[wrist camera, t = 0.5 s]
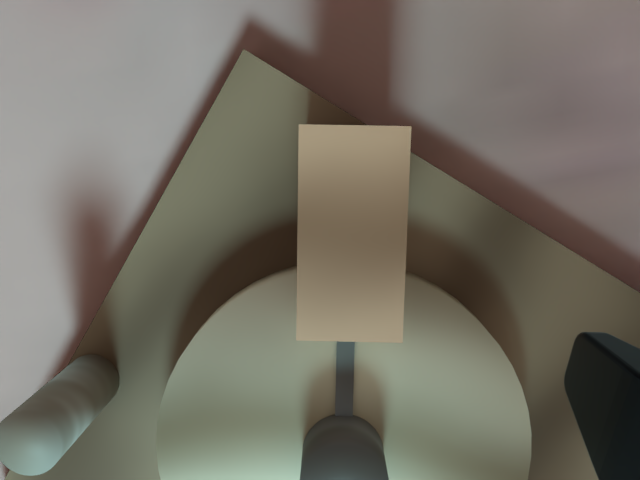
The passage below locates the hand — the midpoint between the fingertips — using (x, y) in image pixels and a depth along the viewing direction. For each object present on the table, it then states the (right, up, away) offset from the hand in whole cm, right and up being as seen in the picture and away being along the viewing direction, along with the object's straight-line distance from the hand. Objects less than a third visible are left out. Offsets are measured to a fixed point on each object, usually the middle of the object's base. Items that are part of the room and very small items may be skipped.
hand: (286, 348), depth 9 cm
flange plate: (+1, -3, +12) cm, 13 cm away
